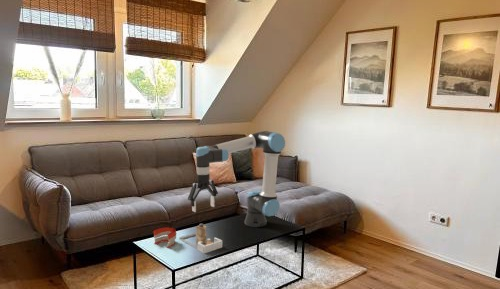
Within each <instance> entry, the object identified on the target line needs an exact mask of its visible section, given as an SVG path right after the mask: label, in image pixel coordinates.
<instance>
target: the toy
mask: <svg viewBox="0 0 500 289" xmlns="http://www.w3.org/2000/svg"><path fill="white" fill-rule="evenodd" d="M153 239H154V244H153V245H158V244H160V243H163V242H167V246H166V248H167V249H170V248H171V247H173V246H175V243H176V241H175V240H176V239H177V230H176V229H175V228H174V227H169V226H167V227H161V228H156V229H154V230H153Z"/></svg>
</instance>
